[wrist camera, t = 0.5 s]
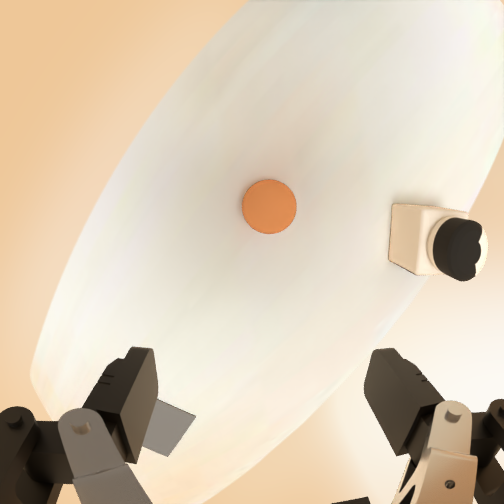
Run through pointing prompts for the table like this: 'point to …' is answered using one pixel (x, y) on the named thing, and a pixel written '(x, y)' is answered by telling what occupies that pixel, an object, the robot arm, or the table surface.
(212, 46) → the table surface
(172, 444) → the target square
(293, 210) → the ball
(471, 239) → the medicine bottle
